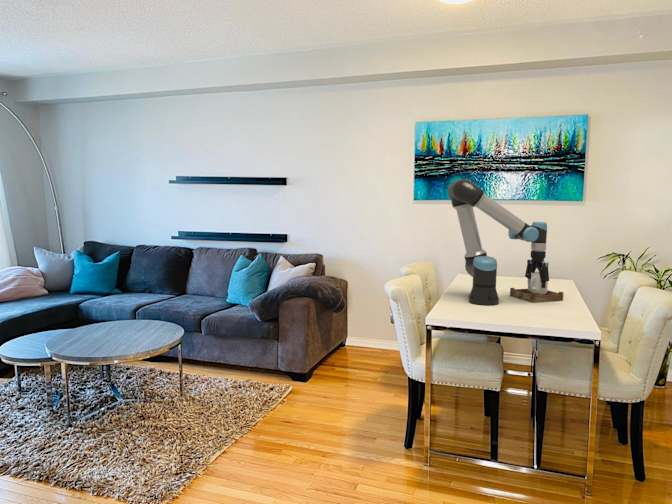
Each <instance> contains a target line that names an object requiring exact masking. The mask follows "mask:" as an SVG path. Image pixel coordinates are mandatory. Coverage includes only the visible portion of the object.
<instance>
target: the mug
mask: <svg viewBox="0 0 672 504" xmlns="http://www.w3.org/2000/svg"><path fill="white" fill-rule="evenodd" d="M543 280H544V279H543ZM540 281H541V278H540V274H539V271H535V272H534V273H532V272H531V282H530V291H531V292H532V293H537V294H540ZM548 285H549V281H547V282H546V287H545V293H547V290H548V288H549V286H548Z"/></svg>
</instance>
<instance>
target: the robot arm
mask: <svg viewBox="0 0 672 504" xmlns="http://www.w3.org/2000/svg"><path fill="white" fill-rule="evenodd" d="M447 195H448V197H449V199H450V201H451V205H452V208H453V209H455V210H456V213H457V218H458V223H459V227H460V231H461V235H462V240H463V242H464V243H463V244H464V249H465V254H464V261H465V271H466V273H467V274H468V275H469V276H470V277H472V288H471V290H470V293H469V294H468V303H470V304H473V305H481V306H496V305H499V303H500V298H499V294H498V292H497V276H498V275H497V272H498V271H497V269H498V261H497V259H496V258H495V257H493V256H488V254H487V251H486V250H485V249H483V246H482V241H481V237H480V233H479V228H478V224H477V220H476V215H475V212H474V208H475V207H476V209H477V208H478V209H479V210H480V211H482V212H483V213H485V214H486V215H487V216H489V217H490V218H492V219H493V220H495V221H496V222H498V223H499V224H501V225H502V226H503V227H505V229H507V230H508V238H509V239H511V240H521V241H524V242H527V243H530V258H531V259H527V260H526V261H527V262H526V263H527V264H526V270H525V273H524V274H525V275H524V277H525V278H527V289H528V291H530V282H531V272H532V273H534V272H536V270H538V272H539V274H540V278H541V281H540V294H545V287H546V282H547V281H548V282H549V281H550V274H549V273H550V272H549V262H546V261H545V259H546V256H547V254H546V251H547V233H548V223H547V222H546V221H533V222H532V223H531V225H529V224H528V223H526V222H525V221H523V220H522V219H521V218H519V217H518V216H517V215H515V214H514V213H512V211H509V210H508V209H507V208H505V207H504V206H502V205H501V204H499V203H498V202H496V201H495V200H494V199H492V198H491V197H489V196H488V195H487V194H486V192H485V191H484V189H481V187H479V186H478V185H477V184H476V183H474V182H473V181H472V180H470V179H467V178H466V179H465V178H462V179H461V178H460V179H456V180H453V181H452V182H451V183H450V184H449V185H448V188H447ZM543 279H544V280H543Z"/></svg>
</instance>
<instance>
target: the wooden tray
mask: <svg viewBox="0 0 672 504" xmlns="http://www.w3.org/2000/svg"><path fill="white" fill-rule="evenodd" d="M509 296H510V297H512V298H514V299H515V298H516V299H520V300H522V301H527V302H530V303H533V304H536V303H548V302H563V301H564V292H563V291H558V292H556V291H552V290H548V289H547V293H545V294H537V293H532V292H531V291H528V288H515V287H510V288H509Z"/></svg>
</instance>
